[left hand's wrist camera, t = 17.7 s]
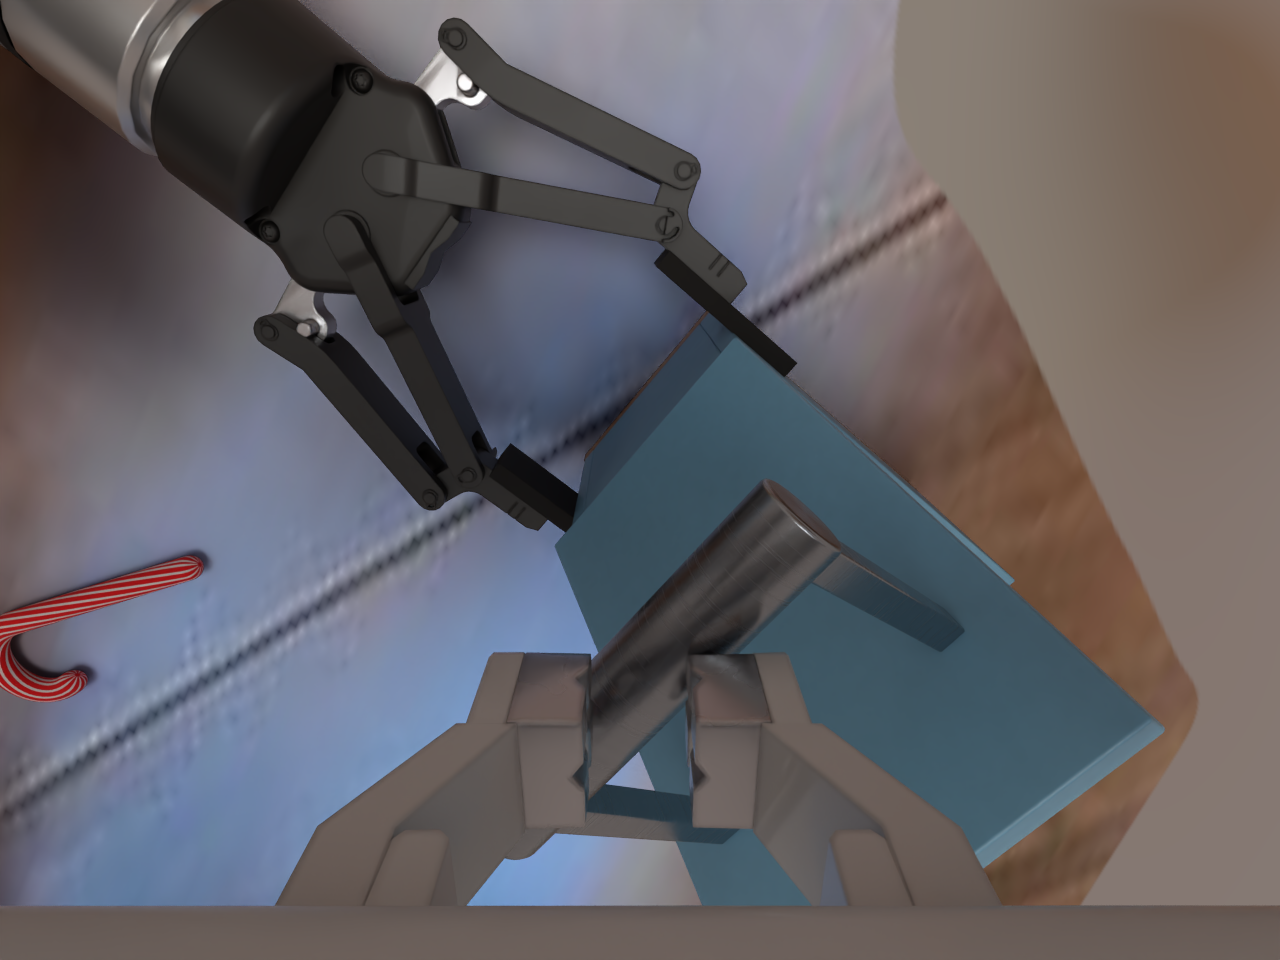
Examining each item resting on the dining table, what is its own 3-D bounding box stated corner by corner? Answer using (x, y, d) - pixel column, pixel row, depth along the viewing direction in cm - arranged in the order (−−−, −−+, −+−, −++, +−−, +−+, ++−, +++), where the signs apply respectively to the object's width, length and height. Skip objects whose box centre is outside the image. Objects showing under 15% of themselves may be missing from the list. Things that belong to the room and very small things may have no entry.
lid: (1167, 729, 12) (1013, 614, 7) (784, 1020, 15) (465, 1089, 10) (755, 354, 23) (580, 204, 18) (578, 555, 26) (380, 473, 21)
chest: (910, 484, 37) (1016, 580, 27) (784, 607, 40) (837, 738, 30) (708, 307, 34) (742, 341, 24) (585, 454, 36) (567, 542, 26)
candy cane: (255, 633, 40) (242, 648, 39) (33, 703, 41) (13, 719, 40) (200, 545, 38) (184, 557, 37) (-31, 621, 39) (-55, 636, 38)
